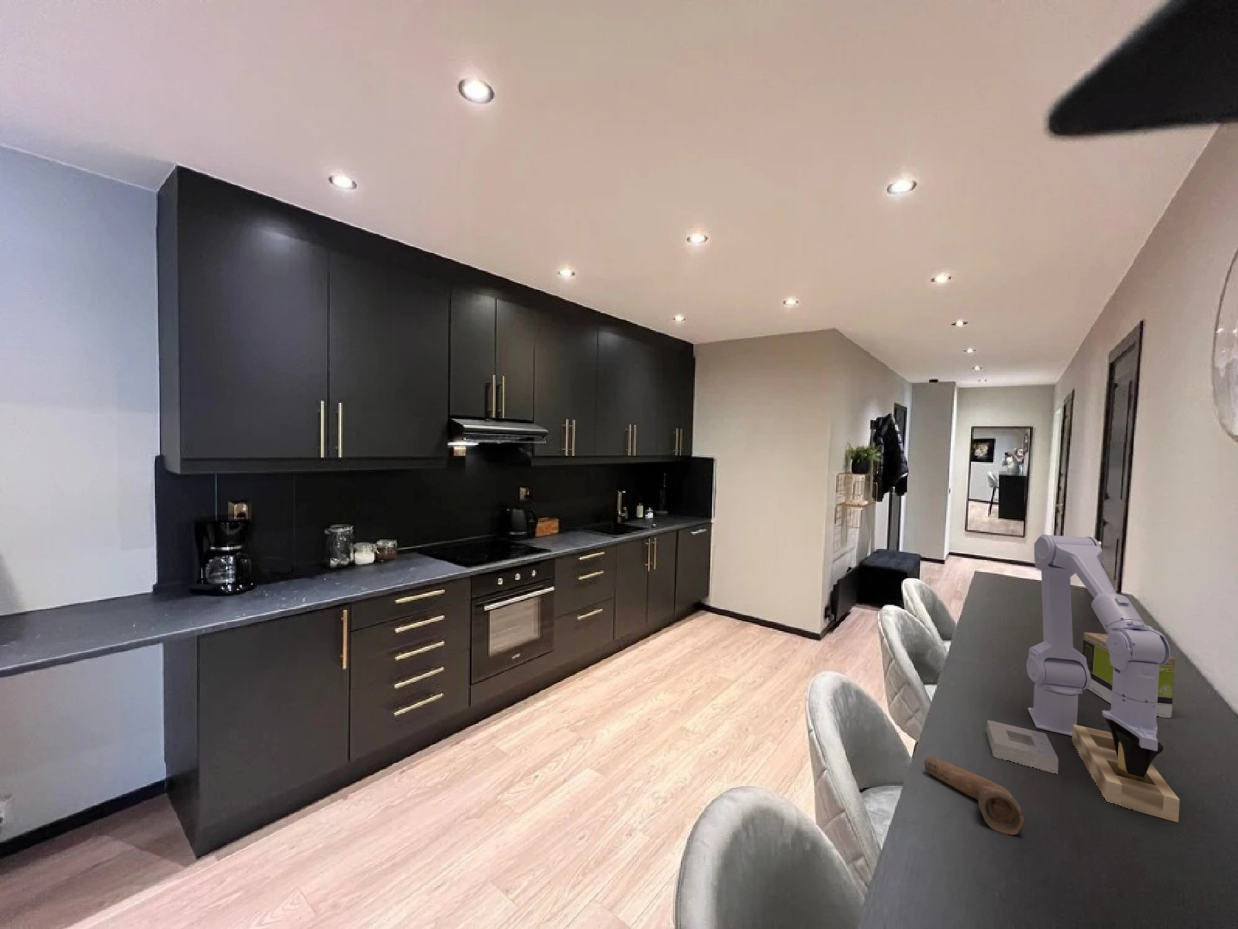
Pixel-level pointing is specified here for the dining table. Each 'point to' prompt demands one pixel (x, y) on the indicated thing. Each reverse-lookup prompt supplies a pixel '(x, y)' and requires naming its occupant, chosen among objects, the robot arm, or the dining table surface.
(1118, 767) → the tan brown peg
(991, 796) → the pipe
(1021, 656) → the dining table surface
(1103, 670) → the tea box
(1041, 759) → the socket block
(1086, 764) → the rack
